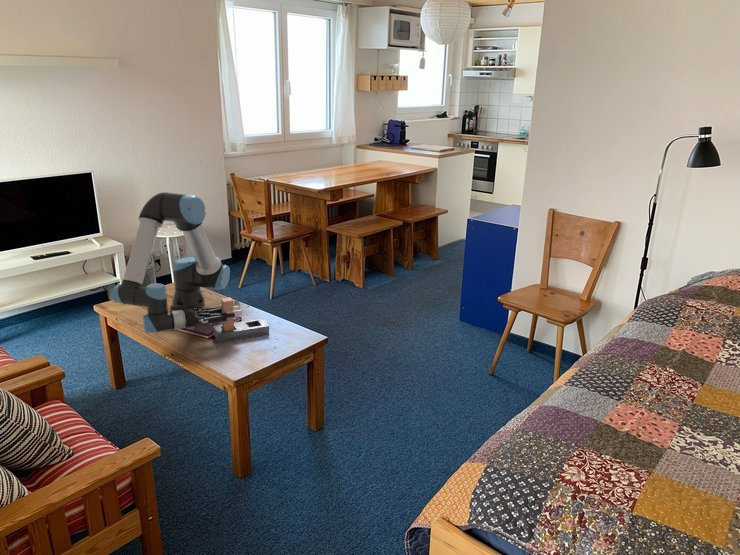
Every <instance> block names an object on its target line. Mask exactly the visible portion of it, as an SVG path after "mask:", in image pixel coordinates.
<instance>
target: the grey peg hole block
mask: <svg viewBox="0 0 740 555" xmlns="http://www.w3.org/2000/svg"><path fill="white" fill-rule="evenodd" d="M212 331H213V332H214V334H213V337H215V340H216V341H217V343H219V344H220V343H226V342H232V341H238V340H243V339H251V338H256V337H262V336H267V335H270V325H269V324H268V323H267V322H266V321H265V319H264V318H257V319H250V320H244V321H243V320H242V321H238V322H237V321H236V322H235V321H234V330H230V331H223V329H222V324H217V325H213V326H212Z"/></svg>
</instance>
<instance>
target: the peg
mask: <svg viewBox="0 0 740 555" xmlns="http://www.w3.org/2000/svg"><path fill="white" fill-rule="evenodd" d="M220 300H221V301H220V302H221V305H220V306H222V313H226V312H228V311H234V310H233V303H234V300H233V298H232V297H224V298H223V297H222V298H221V299H220ZM234 323H235V317H233V318H227V321H223V322H221V325H222V329H223V331H230V330H234Z"/></svg>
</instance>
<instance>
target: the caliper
mask: <svg viewBox="0 0 740 555" xmlns="http://www.w3.org/2000/svg"><path fill="white" fill-rule="evenodd" d="M233 306H239V310H241V304H240V301H239V300H238V299H235V300H233Z"/></svg>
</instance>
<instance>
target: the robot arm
mask: <svg viewBox="0 0 740 555" xmlns="http://www.w3.org/2000/svg"><path fill="white" fill-rule="evenodd" d="M205 210H206V206H205V202H204V201H203V199H202V198H201V197H199V196H196V195H193V194H190V193H188V194H187V193H186V194H184V193H174V192H159V193H157V194H154V195H153V196H152V197H151V198H149V200H148V201H147V202H146V203H145V204H144V206H143V207H142V208H141V211H140V213H139V216H138V222H139V225H138V228H137V231H136V236H135V239H134V242H133V244H132V248H131V252H130V255H129V258H128V262H127V265H126V268H125V272H124V275H123V278H122V281H121V284H116V285H115V286H114V287H113V288H112V289H111V298H112V300H113V301H114V302H115V303H117V304H122V305H127V306H128V305H129V306H137V307H140V308H141V307H142V308H147V313H146V314H143V315H142V325H143V330H144V332H145V333H147V334H153V333H154V334H155V333H156V334H157V333H160V332H167V331H173V330H176V331H178V330H181V329H184V328H187V329H188V328H194V327H195V326H196V324H197V323H198V324H199V323H200V324H201V323H202V325H203V326H208V324H211V323H213V324H215V323H222V322H223V321H227V318H233V317H234V318H239V317H243V309H240V310H239V306H233V310H234V311H228V312H226V313H222V305H218V306H217V305H216V306H210V307H204V306H205V305H206V299H205V297H204V294H203V291H202V289H201V288H204V289H211V290H224V289H225V288H226V287H227V286H228V283H229V280H230V275H231V269H230V266H228V265H226V264H223V263H222V261H221V259H220V258H219V257H217V256H216V255H215V252H214V250H213V248H212V245H211V243H210V241H209V238H208V235H207V233H206V231H205V229H204V226H203V223H204V220H205V218H206V211H205ZM164 222H173V223H174V225H175V227H176V229H177V230H178V231H180V232H182V234H183V235H184V238H185V239H186V242H187V244H188V247H189V249H190V251H191V253H192V255H193V256H186V257H182V258H179V259H177V260H175V261H174V262H173V266H172V268H173V270H172V271H173V282H174V292H173V297H172V301H171V306H172V308H173V309H174V310H171V311H169V309H168V307H169V306H168V292H167V288H166V286H165V284H162V283H150V284H148V285H147V286H145V287H142V286H143V283H144V278H145V276H146V272H147V270H148V266H149V263H150V259H151V256H152V252H153V249H154V245H155V243H156V239H157V236H158V232H159V229H160V228H162V227H163V225H164ZM194 308H197V309H196V311H195V310H193V309H194ZM211 325H212V324H211Z"/></svg>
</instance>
